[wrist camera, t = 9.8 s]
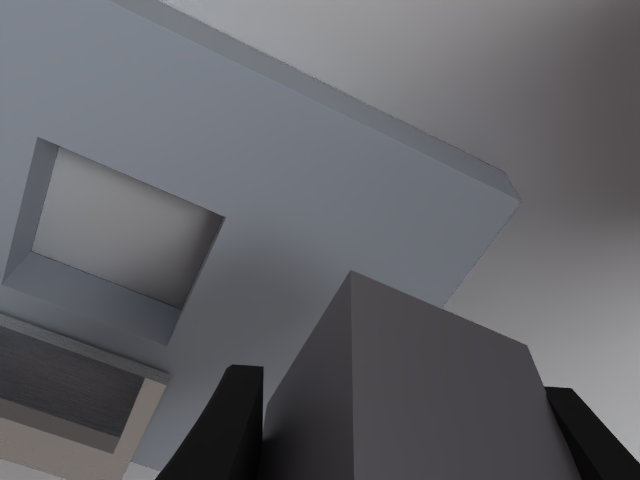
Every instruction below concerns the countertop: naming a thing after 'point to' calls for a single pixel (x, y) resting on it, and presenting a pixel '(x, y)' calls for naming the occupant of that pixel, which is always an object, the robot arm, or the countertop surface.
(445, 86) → the countertop surface
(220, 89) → the socket panel
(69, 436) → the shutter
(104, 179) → the countertop surface
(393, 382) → the plug
